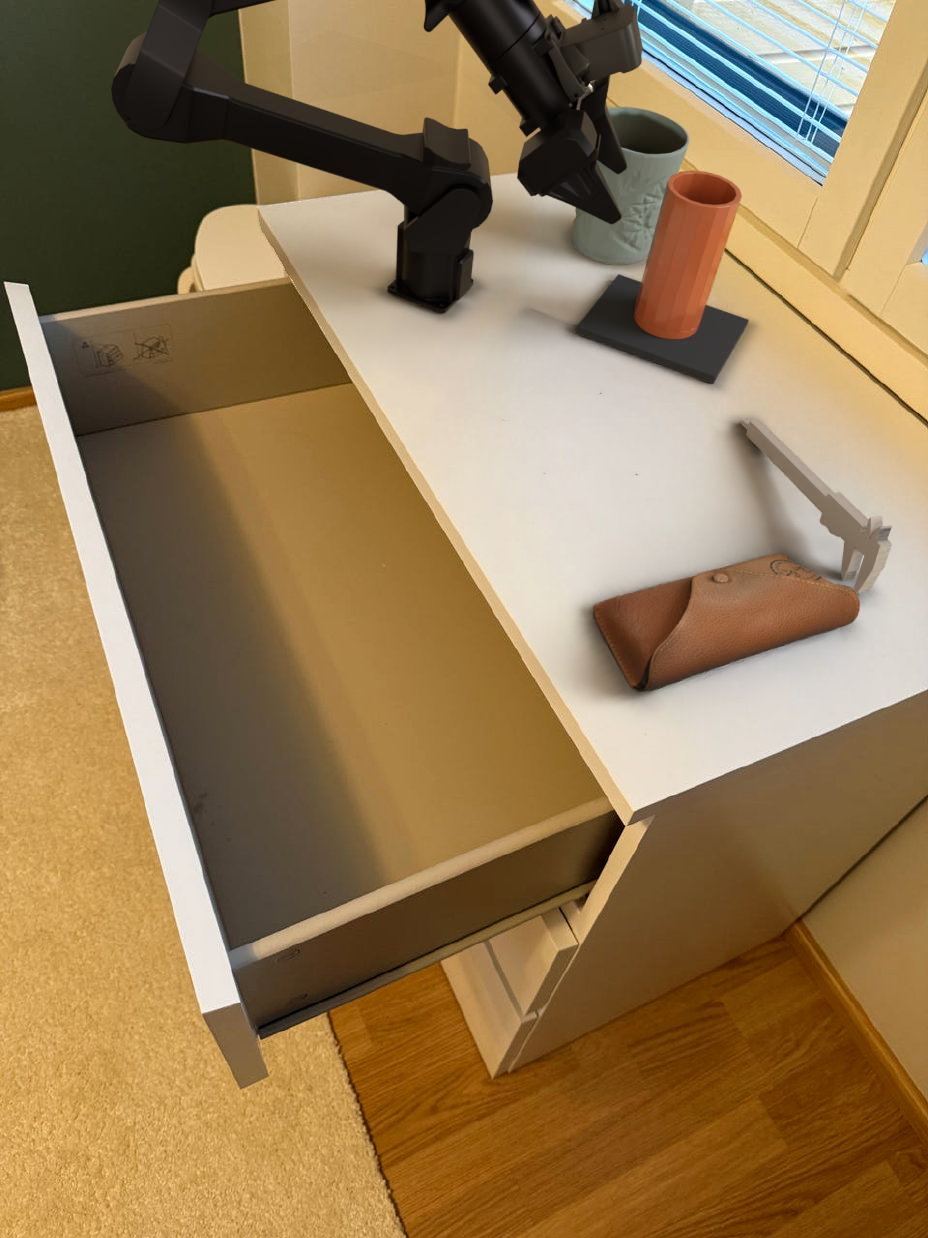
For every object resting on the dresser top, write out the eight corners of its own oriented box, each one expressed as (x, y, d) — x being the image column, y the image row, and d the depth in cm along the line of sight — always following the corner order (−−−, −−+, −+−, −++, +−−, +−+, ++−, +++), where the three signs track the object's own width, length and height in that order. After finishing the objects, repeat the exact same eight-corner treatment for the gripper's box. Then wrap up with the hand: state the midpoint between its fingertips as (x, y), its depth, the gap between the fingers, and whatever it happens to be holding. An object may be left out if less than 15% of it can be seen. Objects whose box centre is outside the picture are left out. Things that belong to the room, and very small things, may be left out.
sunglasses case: (784, 545, 72) (841, 524, 66) (813, 631, 72) (873, 618, 65) (583, 606, 67) (624, 589, 60) (613, 700, 66) (658, 692, 60)
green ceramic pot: (560, 217, 102) (581, 102, 93) (650, 221, 103) (678, 108, 94) (573, 267, 96) (595, 149, 87) (667, 272, 97) (700, 156, 88)
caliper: (866, 596, 70) (903, 539, 66) (853, 598, 70) (890, 541, 65) (749, 423, 82) (773, 364, 77) (738, 424, 82) (762, 365, 77)
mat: (575, 333, 89) (576, 325, 88) (616, 280, 95) (618, 273, 94) (713, 384, 85) (715, 376, 85) (746, 326, 92) (749, 319, 91)
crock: (653, 343, 87) (691, 210, 77) (622, 305, 91) (654, 173, 81) (710, 333, 89) (755, 202, 79) (678, 297, 93) (717, 167, 83)
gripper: (586, 8, 63) (702, 191, 71) (604, -74, 75) (702, 92, 83) (463, 112, 70) (583, 269, 78) (498, 22, 81) (598, 167, 89)
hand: (620, 194), depth 82 cm, fingers open, 9 cm apart
